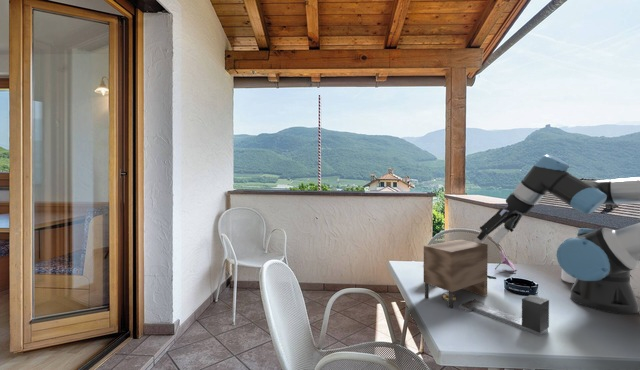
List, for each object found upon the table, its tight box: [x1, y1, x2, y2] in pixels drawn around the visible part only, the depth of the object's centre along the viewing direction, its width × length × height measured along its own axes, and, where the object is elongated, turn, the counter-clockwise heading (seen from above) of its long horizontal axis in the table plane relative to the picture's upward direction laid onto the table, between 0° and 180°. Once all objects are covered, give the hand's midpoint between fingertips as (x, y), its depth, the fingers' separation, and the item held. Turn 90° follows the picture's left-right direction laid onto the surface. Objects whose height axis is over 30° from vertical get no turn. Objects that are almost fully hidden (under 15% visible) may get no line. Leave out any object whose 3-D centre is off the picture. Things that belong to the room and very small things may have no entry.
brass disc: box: [442, 292, 457, 302], centre depth 94 cm, size 4×4×1 cm
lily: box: [494, 245, 517, 274], centre depth 124 cm, size 12×12×10 cm
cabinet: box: [423, 239, 489, 309], centre depth 96 cm, size 10×20×17 cm, turn 122°
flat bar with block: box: [459, 294, 550, 337], centre depth 81 cm, size 20×8×8 cm, turn 32°
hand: (485, 243), depth 107 cm, fingers open, 13 cm apart
